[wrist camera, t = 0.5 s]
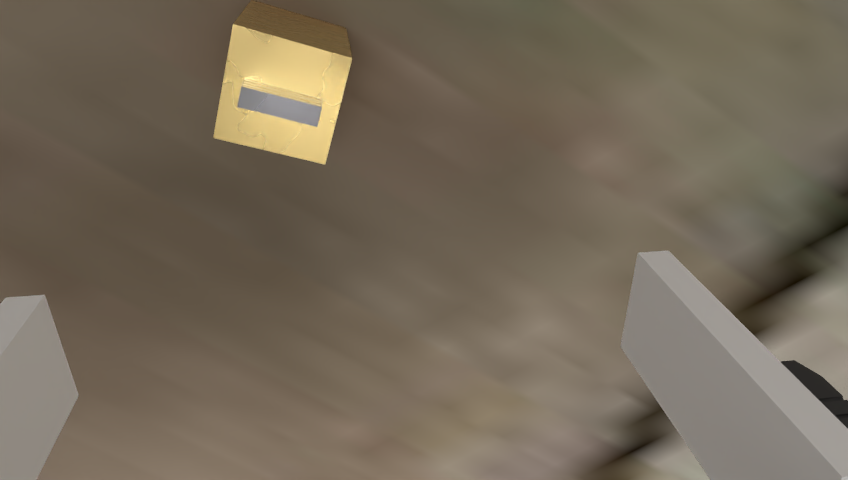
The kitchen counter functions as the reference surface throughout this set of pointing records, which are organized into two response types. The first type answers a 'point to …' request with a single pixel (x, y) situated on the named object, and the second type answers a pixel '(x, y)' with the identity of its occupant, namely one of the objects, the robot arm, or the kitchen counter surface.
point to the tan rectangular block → (283, 82)
